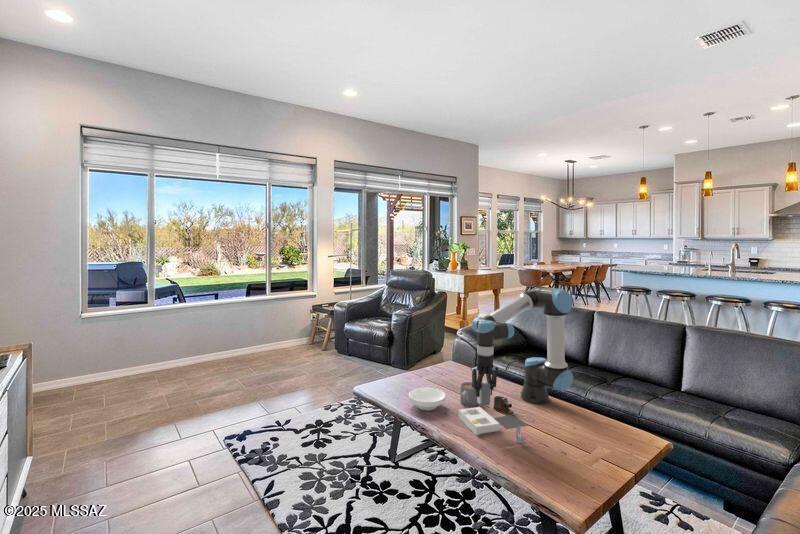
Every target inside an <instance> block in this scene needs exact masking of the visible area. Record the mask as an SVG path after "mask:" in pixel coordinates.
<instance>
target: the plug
mask: <svg viewBox="0 0 800 534" xmlns="http://www.w3.org/2000/svg"><path fill="white" fill-rule="evenodd" d="M480 390H482V398H481V404H479V405H480V407H483V406H484V407H485V406H490V405H491V397H490V384H489V383H488V382H487V380H482V384H481V389H480Z"/></svg>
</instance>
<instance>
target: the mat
mask: <svg viewBox="0 0 800 534" xmlns="http://www.w3.org/2000/svg"><path fill="white" fill-rule="evenodd" d="M493 418H494V419H495V420H496V421H497V422H498V423H500V425H501V427H503V428H504V429H505V430H509V429H510V430H511V429H515V428H518V426H519V427H520V428H521V427H522V428H523V427H528V424H526V422H524V421H523V420H522V419H520V418H519V417H518V416H516V415H515V414H512V415H510V414H508V415H504V416H496V417H493Z"/></svg>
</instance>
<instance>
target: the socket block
mask: <svg viewBox="0 0 800 534" xmlns="http://www.w3.org/2000/svg"><path fill="white" fill-rule="evenodd" d="M457 416H458V418H459V420H461V421H462V423H463V424H464V425H465V426H467V428H468V429H469V430H471V431H472V432H473V434H474V435H475V436H480V435H481V436H482V434H486V433H493V432H500V428H501V427H500V425H501V424H500V423H499V422H497V421H496V420H495V419H494V418H495V417H493V416H492V415H491V414H489V413H488V412H487V411H485V410H484V409H483V408H482V406H475V407H470V408H469V407H468V408H461V409H458V415H457Z"/></svg>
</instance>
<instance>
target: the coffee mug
mask: <svg viewBox="0 0 800 534" xmlns="http://www.w3.org/2000/svg"><path fill="white" fill-rule="evenodd" d="M459 401H460V404H461V405H462V406H464V407H468V408H469V407H470V408H475V407H479V406H478V405H480V404H479V403H478V402H477V396H476V390H475V389H474V388H472V381H464V382H462V383H461V384H460V400H459Z"/></svg>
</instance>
